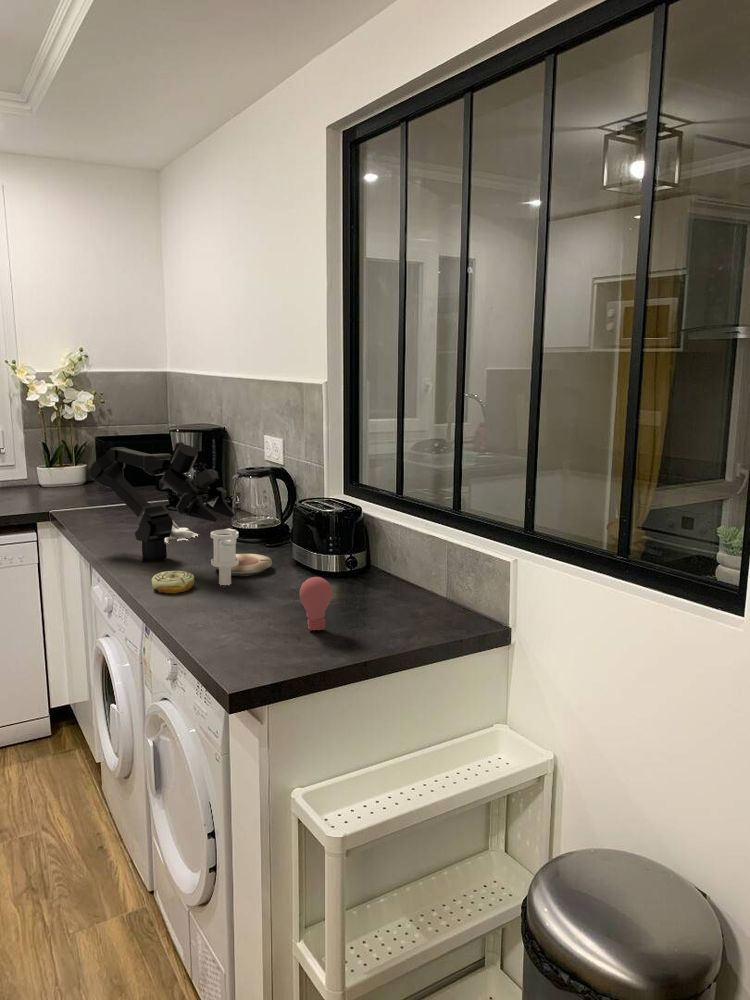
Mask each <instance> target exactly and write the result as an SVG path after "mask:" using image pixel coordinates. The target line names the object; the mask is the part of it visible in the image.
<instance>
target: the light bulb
mask: <svg viewBox="0 0 750 1000" xmlns="http://www.w3.org/2000/svg"><path fill="white" fill-rule="evenodd" d="M332 588H333V587H332V586H331V584H330V583H329V582H328V581H327V580H326V579H325V578H323V577H321V576H312V577H309V578H307V579H306V580H305V581H303V582H302V584H301V586H300V588H299V600H300V602H301V604H302V606H303V608H304V610H305V611H306V617H307V618H308V619H307V624H308V625H307V628H308V630H311V631H315V630H318V631H321V630H324V629H325V626H326V619H325V616H326V611H327V609H328V607H329V605H330V603H331V601H332V598H333V589H332Z"/></svg>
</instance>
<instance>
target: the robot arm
mask: <svg viewBox="0 0 750 1000" xmlns="http://www.w3.org/2000/svg"><path fill="white" fill-rule="evenodd" d="M198 455H199V451H198V450H197V448H195V447H193V446H191V445H188V444H185V443H184V442H182V441H181V442H176V443H175V445H174V449H173V452H172V454H171V453H152V454H151V453H147V452H142V451H138V450H136V449H135V450H133V449H130V448H127V447H124V446H119V447H117V446H116V447H111V448H110V449H108V450H107V451H106V452H105V453H104V454H103V455H102V456H100V457H99V458H97V459H96V460H95V461H94V462H93V463H92V464H91V467H90V468H89V476H91V479H93V481H94V482H96V483H97V484H99V485H100V486H103V487H105V488H109V489H110V490H112V492H114V493H115V495H116V496H117V497H118V498H119V499H120V500H121V501H122V502H123V503H124V505H126V506H127V507H128V509H129V510H131V512H133V514H134V515H136V517H137V519H138V528H137V530H136V531H135V532H134V537H135V539H136V541H140V542H141V559H140V561H141V563H144V562H145V563H151V562H152V563H153V562H158V563H159V562H165V561H166V559H167V558H168V544H167V542H165V538H167V537H170V534H171V530H172V526H173V522H174V520H173V518H172V517H171V515H170V512H168V510H166V509H165V508H164V506H162V504H160V505H154V506H152V505H151V504H150V503H149V502H148V501H147V499H145V498H144V497H143V496H142V495H141V494H140V493H139V491H137V489H136V488H134V487H133V486H132V484H131V483H130V482H129V481H128V480H127V479H126V478H125V476H124V475H125V474H124V469H125V468H126V465H130V466H134V467H137V468H141V469H143V471H144V472H145V473H146V474H148V475H150V476H153V477H155V476H162V478H161V479H159V480H158V483H159V487H158V488H159V490H165V489H167V488H169V489H170V490H172V491H173V492H174V493H176V494H177V495H176V496H175V497H176V498H178V499H179V501H178V503H177V505H175V506H176V510H177V512H178V513H179V514H180V515H182V516H187V517H192V518H193V517H194V518H198V519H202V520H205V521H210V522H215V523H216V522H217V521H218V517H217V516H216V515H215V514H214V513H217V514H220V515H223V516H226V517H228V518H232V519H233V518H234V516H235V514H234V512H233V510H232V509H231V507H230V506H229V504H228V502H227V501H226V496H227V490H226V489H224V488H223V487H222V486H220V487H214V488H211V487H210V486H211V485H212V484H213V483H215V482H217V481H218V480H219V479H220V478H219V472H218V471H216V470H215V469H213V468H211V469H208V468H207V469H204V470H202V471H201V472H200V473H199V474H198V475H196V476H195V477H194V478H191V477H190V476H189V475H188V474H186V473H190V472H191V471H192V468H193V466H194V464H195V462H196V460H197V458H198ZM209 490H210V491H209ZM213 512H214V513H213Z"/></svg>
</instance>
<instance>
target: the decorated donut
mask: <svg viewBox="0 0 750 1000" xmlns="http://www.w3.org/2000/svg"><path fill="white" fill-rule="evenodd" d="M150 581H151V585H152V588H153V589H155V590H156V591H158V592H159V591H160V592H159V593H162V592H165V593H164V594H169V593H174V594H179V593H178V592H180V593H183V592H187V591H189V590H190V589H191V588H192V587H193V586H194V583H195V576H194V574H193V573H190V572H188V571H184V570H167V571H166V570H165V571H162V572H158V573H156V574H155V575H153V576H152V578H151V580H150ZM186 590H187V591H186Z"/></svg>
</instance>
